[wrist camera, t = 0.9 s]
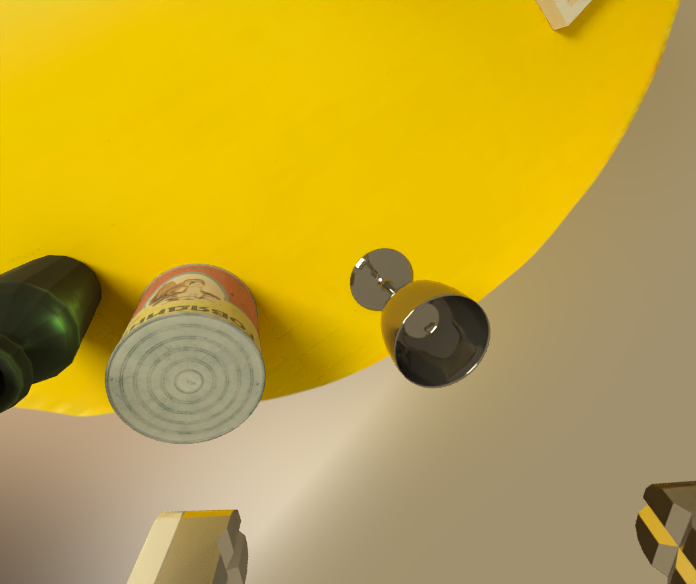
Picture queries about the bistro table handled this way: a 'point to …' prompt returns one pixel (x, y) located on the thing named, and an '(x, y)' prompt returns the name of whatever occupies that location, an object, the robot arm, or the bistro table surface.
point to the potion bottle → (42, 321)
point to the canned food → (188, 357)
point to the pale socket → (562, 11)
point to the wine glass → (421, 320)
